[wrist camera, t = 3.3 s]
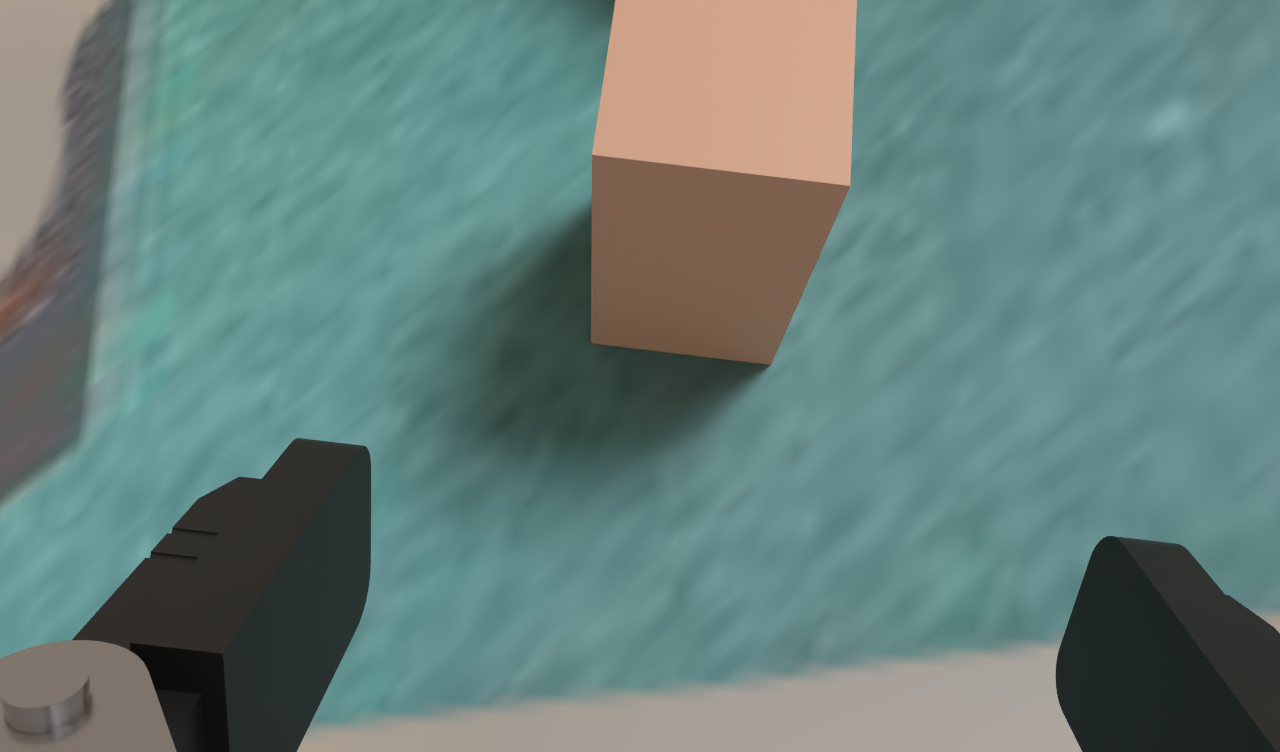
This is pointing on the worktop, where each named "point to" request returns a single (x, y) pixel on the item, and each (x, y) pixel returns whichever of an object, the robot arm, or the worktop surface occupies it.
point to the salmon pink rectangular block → (717, 170)
